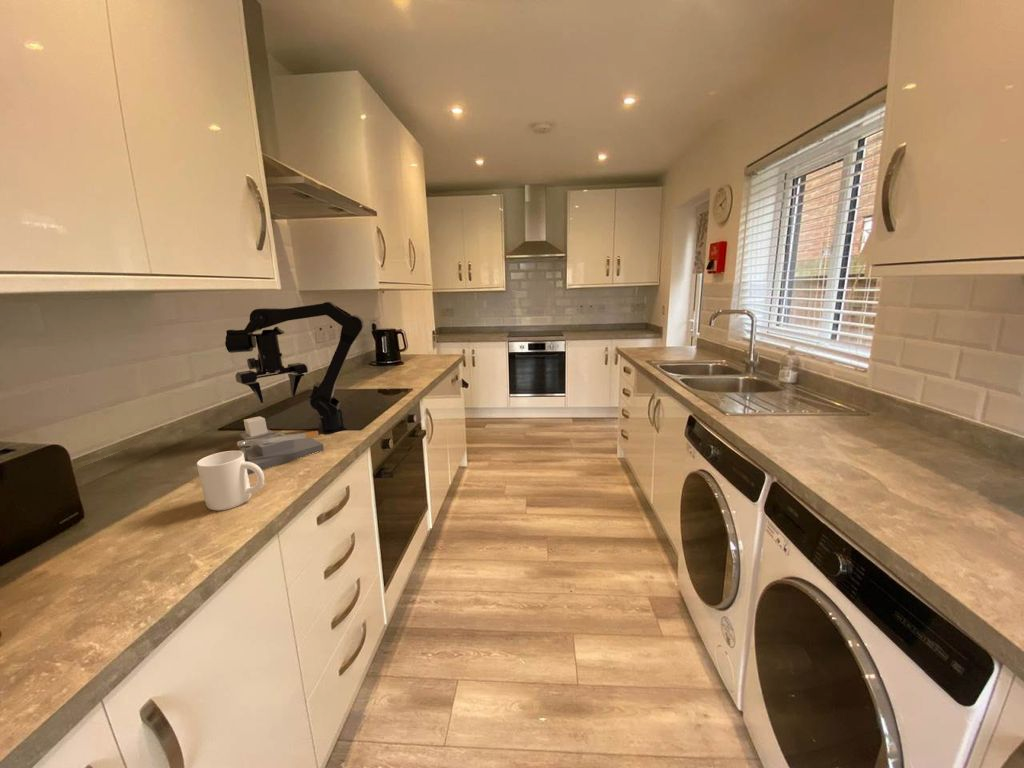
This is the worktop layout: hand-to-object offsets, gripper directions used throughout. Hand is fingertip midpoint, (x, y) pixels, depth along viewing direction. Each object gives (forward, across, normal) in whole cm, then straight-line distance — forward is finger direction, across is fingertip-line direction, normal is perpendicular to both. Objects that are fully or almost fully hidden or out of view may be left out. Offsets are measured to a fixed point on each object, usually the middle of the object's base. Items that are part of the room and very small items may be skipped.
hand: (277, 399), depth 127 cm
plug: (+12, +8, +2) cm, 14 cm away
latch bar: (+6, +9, +22) cm, 24 cm away
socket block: (+12, +8, +15) cm, 21 cm away
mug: (+12, +23, +37) cm, 45 cm away
